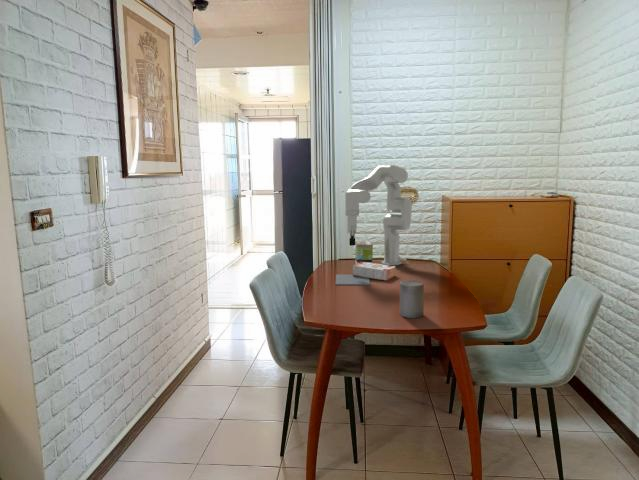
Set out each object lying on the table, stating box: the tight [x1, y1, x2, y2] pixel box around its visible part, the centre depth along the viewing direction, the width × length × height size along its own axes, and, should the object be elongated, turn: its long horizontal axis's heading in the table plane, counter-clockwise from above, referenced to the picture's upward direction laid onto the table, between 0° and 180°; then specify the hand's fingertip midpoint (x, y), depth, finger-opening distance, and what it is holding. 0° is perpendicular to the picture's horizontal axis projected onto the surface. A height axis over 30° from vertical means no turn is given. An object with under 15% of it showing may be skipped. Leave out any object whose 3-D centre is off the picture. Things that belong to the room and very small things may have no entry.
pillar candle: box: [399, 279, 425, 319], centre depth 193 cm, size 10×10×15 cm
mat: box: [335, 273, 371, 286], centre depth 256 cm, size 18×23×1 cm
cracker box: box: [351, 262, 397, 281], centre depth 264 cm, size 14×6×21 cm
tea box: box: [354, 240, 374, 264], centre depth 294 cm, size 15×10×15 cm
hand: (352, 245), depth 265 cm, fingers closed
